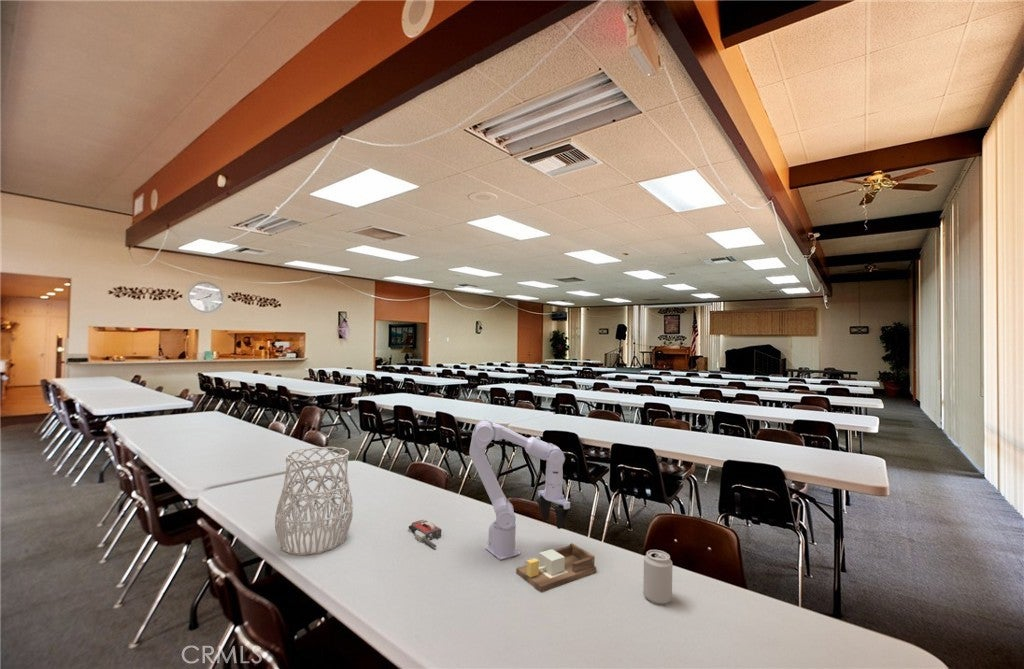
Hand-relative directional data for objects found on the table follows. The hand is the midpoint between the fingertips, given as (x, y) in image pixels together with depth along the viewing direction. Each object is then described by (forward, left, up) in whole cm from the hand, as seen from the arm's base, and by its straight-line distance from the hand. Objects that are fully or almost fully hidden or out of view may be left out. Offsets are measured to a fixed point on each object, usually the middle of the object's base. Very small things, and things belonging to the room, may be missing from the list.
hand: (552, 524), depth 145 cm
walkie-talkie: (-32, -31, -10) cm, 45 cm away
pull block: (+11, -12, -8) cm, 18 cm away
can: (+36, +8, -10) cm, 38 cm away
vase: (-48, -66, -10) cm, 82 cm away
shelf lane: (+11, -8, -9) cm, 17 cm away
